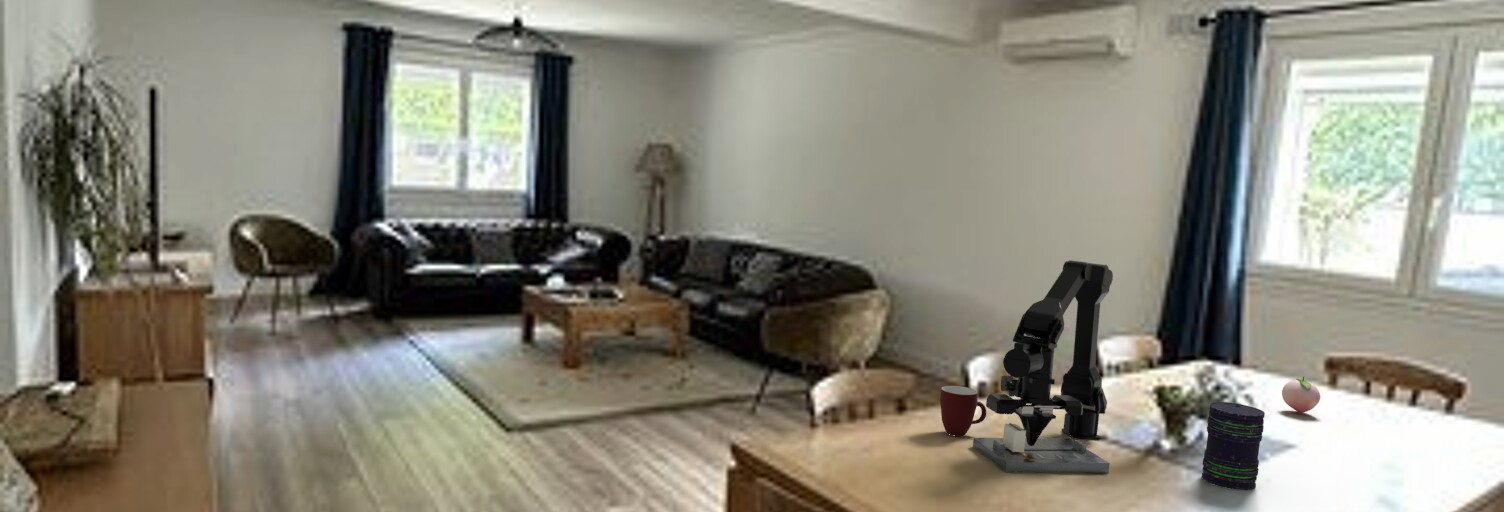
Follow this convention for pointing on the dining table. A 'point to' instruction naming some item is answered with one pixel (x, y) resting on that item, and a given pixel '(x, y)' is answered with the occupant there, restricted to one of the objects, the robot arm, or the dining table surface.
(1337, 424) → the dining table surface
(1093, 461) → the console
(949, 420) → the mug
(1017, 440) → the fader
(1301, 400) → the decorative fruit
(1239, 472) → the storage jar
